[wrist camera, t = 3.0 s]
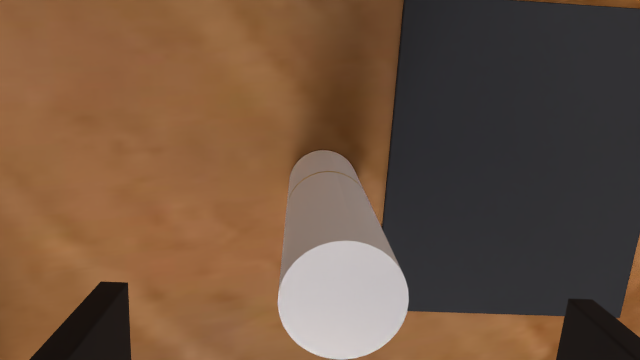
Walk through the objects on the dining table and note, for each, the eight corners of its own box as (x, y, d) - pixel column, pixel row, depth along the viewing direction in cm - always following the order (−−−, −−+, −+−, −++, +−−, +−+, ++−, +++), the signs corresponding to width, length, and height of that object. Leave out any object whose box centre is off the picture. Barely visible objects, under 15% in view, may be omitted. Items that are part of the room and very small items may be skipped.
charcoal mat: (404, -7, 27) (405, -8, 27) (687, 12, 28) (692, 12, 28) (374, 307, 32) (375, 310, 32) (616, 315, 33) (619, 318, 33)
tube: (295, 144, 29) (289, 230, 15) (363, 156, 30) (422, 252, 15) (283, 209, 30) (268, 349, 16) (349, 220, 31) (392, 367, 16)
